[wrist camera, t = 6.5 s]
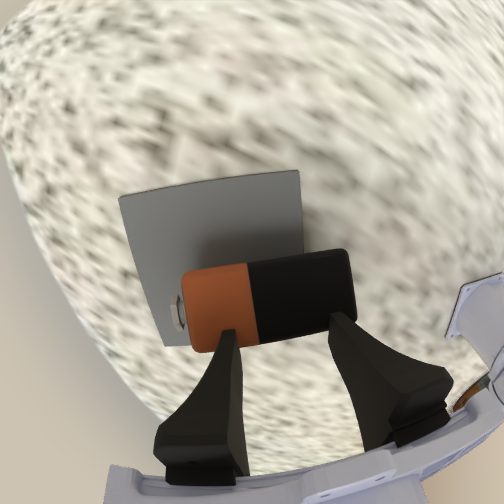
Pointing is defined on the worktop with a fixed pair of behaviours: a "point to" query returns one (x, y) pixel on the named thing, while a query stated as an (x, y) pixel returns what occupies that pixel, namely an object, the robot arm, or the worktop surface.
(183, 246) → the mat
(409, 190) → the worktop surface
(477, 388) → the food container
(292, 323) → the battery
